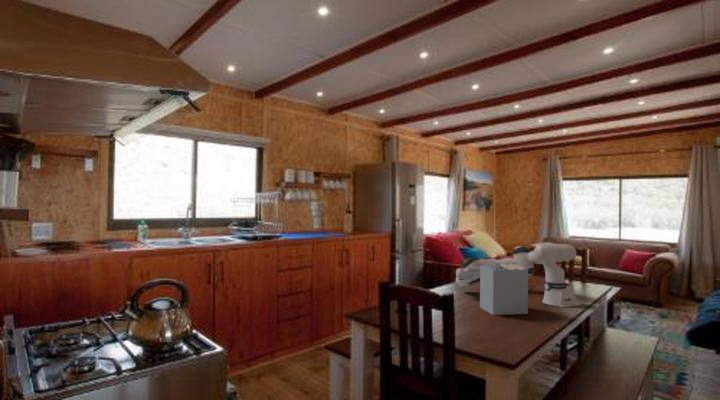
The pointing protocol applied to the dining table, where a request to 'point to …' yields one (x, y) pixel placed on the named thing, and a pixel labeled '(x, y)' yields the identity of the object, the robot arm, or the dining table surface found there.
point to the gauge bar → (490, 263)
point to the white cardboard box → (504, 289)
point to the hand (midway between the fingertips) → (476, 268)
